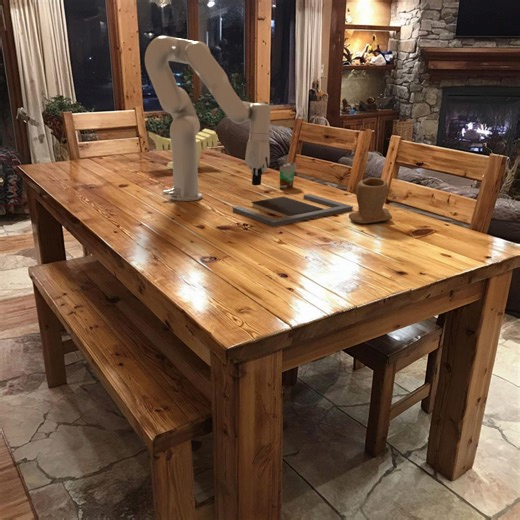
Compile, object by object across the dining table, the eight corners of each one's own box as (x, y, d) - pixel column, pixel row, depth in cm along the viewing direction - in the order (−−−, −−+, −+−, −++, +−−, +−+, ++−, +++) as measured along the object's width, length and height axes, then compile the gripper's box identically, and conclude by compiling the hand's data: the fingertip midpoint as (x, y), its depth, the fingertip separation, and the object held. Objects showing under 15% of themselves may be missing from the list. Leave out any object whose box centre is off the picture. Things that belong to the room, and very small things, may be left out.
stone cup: (361, 228, 184) (364, 183, 179) (344, 219, 195) (346, 176, 190) (400, 224, 189) (405, 180, 184) (381, 215, 200) (385, 173, 195)
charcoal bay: (273, 226, 185) (273, 222, 184) (232, 211, 203) (232, 207, 202) (352, 210, 206) (352, 206, 206) (309, 197, 224) (309, 193, 223)
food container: (293, 190, 235) (294, 167, 232) (279, 189, 237) (279, 166, 233) (297, 184, 247) (298, 161, 243) (283, 183, 248) (284, 161, 245)
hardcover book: (290, 221, 193) (290, 215, 192) (251, 207, 210) (251, 201, 209) (324, 214, 202) (324, 208, 201) (284, 201, 219) (284, 196, 219)
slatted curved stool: (160, 172, 269) (158, 135, 263) (150, 167, 282) (148, 131, 276) (217, 168, 282) (217, 132, 276) (206, 162, 295) (205, 128, 289)
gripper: (239, 134, 215) (237, 181, 221) (263, 140, 204) (260, 189, 210) (255, 134, 219) (252, 180, 226) (279, 139, 208) (275, 188, 215)
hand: (256, 184), depth 218 cm, fingers closed
